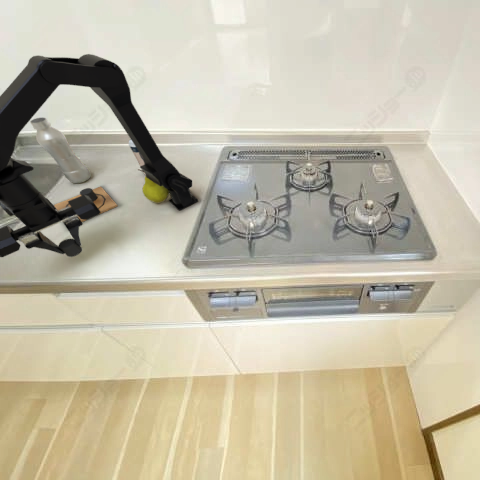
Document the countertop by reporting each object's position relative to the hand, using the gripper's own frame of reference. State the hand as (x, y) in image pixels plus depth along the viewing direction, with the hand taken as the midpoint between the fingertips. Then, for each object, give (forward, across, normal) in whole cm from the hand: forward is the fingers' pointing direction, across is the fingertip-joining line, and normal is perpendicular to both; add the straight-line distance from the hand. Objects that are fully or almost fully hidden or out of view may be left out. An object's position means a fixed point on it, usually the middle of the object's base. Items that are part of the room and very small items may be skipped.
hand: (71, 248), depth 66 cm
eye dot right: (+4, -10, -24) cm, 26 cm away
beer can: (+5, -29, -26) cm, 39 cm away
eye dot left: (+1, 0, 0) cm, 1 cm away
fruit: (+5, -24, -10) cm, 27 cm away
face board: (+5, -8, -22) cm, 24 cm away
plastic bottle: (+5, -11, -38) cm, 40 cm away
